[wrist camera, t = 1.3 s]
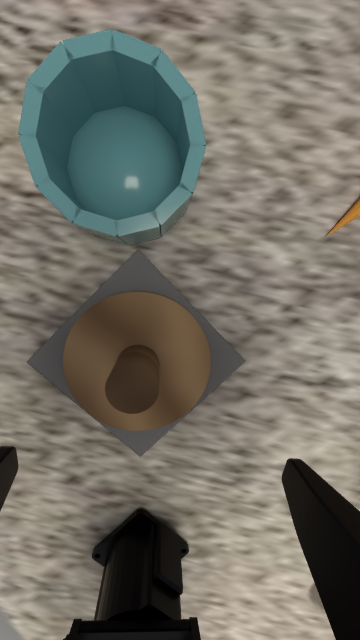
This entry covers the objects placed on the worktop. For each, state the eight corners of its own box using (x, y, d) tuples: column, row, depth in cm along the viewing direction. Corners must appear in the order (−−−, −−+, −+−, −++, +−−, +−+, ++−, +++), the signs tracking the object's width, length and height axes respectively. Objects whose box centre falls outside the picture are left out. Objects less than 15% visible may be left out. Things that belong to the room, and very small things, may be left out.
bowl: (129, 269, 19) (117, 269, 14) (32, 171, 17) (-19, 132, 12) (218, 180, 18) (238, 147, 13) (126, 68, 17) (110, -16, 12)
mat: (140, 453, 22) (140, 456, 22) (29, 360, 20) (26, 362, 19) (243, 359, 21) (245, 361, 21) (138, 249, 19) (138, 249, 18)
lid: (140, 449, 21) (133, 499, 17) (36, 361, 19) (-4, 391, 15) (236, 361, 21) (258, 388, 16) (138, 259, 18) (129, 255, 14)
